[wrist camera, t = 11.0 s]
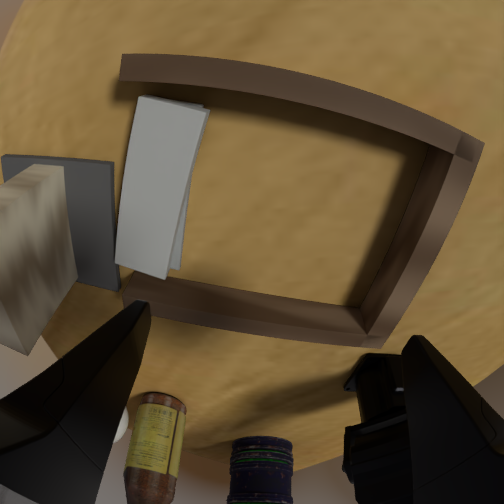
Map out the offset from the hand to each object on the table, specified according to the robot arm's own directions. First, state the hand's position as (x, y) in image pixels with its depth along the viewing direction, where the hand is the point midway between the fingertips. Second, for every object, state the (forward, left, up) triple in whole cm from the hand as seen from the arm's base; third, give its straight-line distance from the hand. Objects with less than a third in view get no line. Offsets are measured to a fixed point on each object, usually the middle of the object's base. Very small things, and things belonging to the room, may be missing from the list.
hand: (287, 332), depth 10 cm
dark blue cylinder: (-41, -7, -12) cm, 44 cm away
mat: (-5, +17, -12) cm, 21 cm away
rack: (-1, 0, -12) cm, 12 cm away
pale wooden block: (-5, +17, -11) cm, 21 cm away
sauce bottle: (-30, +8, -12) cm, 33 cm away
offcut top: (-1, +8, -11) cm, 14 cm away
